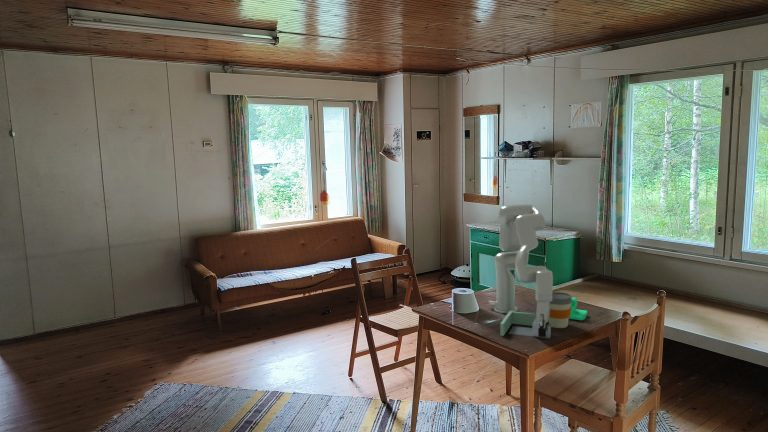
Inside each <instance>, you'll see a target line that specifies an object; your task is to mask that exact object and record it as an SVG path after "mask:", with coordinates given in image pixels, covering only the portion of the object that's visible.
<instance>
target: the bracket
mask: <svg viewBox="0 0 768 432" xmlns="http://www.w3.org/2000/svg"><path fill="white" fill-rule="evenodd" d="M538 327H539V322H536V318H535V320H534V322H533V324H532V326H531V328H532V336H534V337H536V338H542V339H551V336H552V334H551V333H552V327H551V324H546V325H545V328H546V337H541V336H538Z"/></svg>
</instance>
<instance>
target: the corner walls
mask: <svg viewBox="0 0 768 432" xmlns="http://www.w3.org/2000/svg"><path fill="white" fill-rule="evenodd" d="M535 318H536V313H533V312H532V313H531V312H521V311H517V312H515V311H509V312H508V313H506V315H505V316H504V317H503V320H501V322H500V325H499V327H500V329H499V330H500V333H499V335H500V336H501V337H504V336H505V335H506V334H507V331H508V330H509V329H510V327H511V325H512V324H513V325H522V326H528V327H530V326H531V327H532V324H533V322H534V320H535Z"/></svg>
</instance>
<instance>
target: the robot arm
mask: <svg viewBox="0 0 768 432" xmlns="http://www.w3.org/2000/svg"><path fill="white" fill-rule="evenodd" d="M498 220H499V237H498V247H499V249H500V250H501V252H498V253H497V254H496V255H495V256H494V266H495V273H496V274H495V275H496V276H495V277H496V279H495V280H496V289H495V290H496V297H495V298H496V300H494V301H493V300H488V304H489V306H493V311H494V312H496V313H500V314H508V312H509V311H515V312H518V311H519V310H518V307H517V306H515V302H516V301H515V297H516V296H515V294H516V293H515V289H516V288H515V287H516V283H515V276H514V274H513V273H512V272H511V271H513V270H516V274H517V275H516V276H517V279H518V281H520V283H522V284H532V283H534V284H535V288H534V289H535V297H534V299H535V301H536V313H535V314H536V322H539V327H538V336H541V337H546V328H545V325H546V324H549V322H548V321H549V318H550V302H551V301H552V300H553V292H554V290H553V288H554V287H553V285H554V283H553V281H554V279H553V278H554V275H553V272H552V270H550V269H548V268H547V267H545V266H544V265H537V266H535V265H533V266H528V263H529V257H530V256H529V255H530V254H529V253H530V251H532V250H534V249H536V248H537V247H538V246H539V240H538V236H537V233H536V232H538V231H539V232H540V231H543V230H545V228H546V220H545V217H544V215H543V214H542V213H541V211H540V210H539V209H537V208H536V207H535V206H534V205H533V204H512V205H510V204H509V205H503V206H501V207H500V208H499V210H498ZM502 251H503V252H502ZM541 337H540V338H541Z"/></svg>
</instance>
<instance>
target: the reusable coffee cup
mask: <svg viewBox="0 0 768 432" xmlns="http://www.w3.org/2000/svg"><path fill="white" fill-rule="evenodd" d="M572 298H573V297H572V295H571V294H570V293H567V292H566V293H565V292H562V291H561V292H559V291H553V300H552V301H551V302H550V318H549V321H548V322H549V324H551V328H556V329H565V328H567V327H568V325H569V320H570V319H569V317H570V313H571V303H572Z"/></svg>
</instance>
